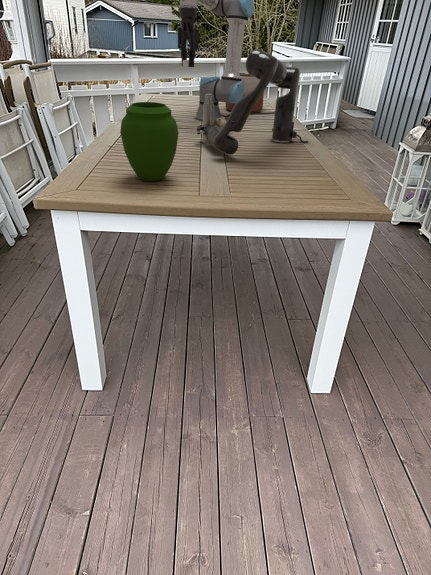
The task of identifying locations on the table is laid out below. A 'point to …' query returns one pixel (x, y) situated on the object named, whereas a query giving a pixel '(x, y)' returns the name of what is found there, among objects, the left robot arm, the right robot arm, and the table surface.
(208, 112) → the bottle
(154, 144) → the vase
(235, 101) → the left robot arm
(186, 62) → the cap
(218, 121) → the seashell
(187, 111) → the table surface
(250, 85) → the planter
